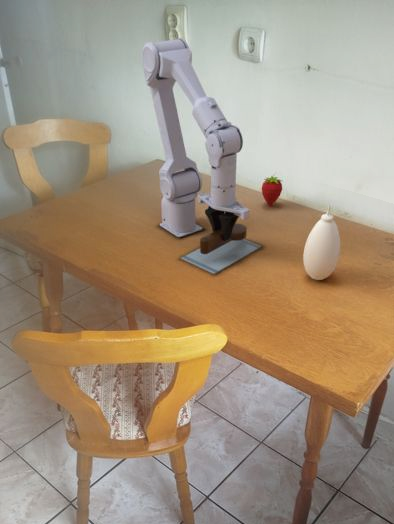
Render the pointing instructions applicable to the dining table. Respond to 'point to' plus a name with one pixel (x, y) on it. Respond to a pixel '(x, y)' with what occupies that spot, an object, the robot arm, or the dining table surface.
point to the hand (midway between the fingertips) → (222, 237)
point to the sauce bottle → (322, 248)
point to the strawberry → (271, 189)
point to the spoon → (216, 241)
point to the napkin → (221, 255)
